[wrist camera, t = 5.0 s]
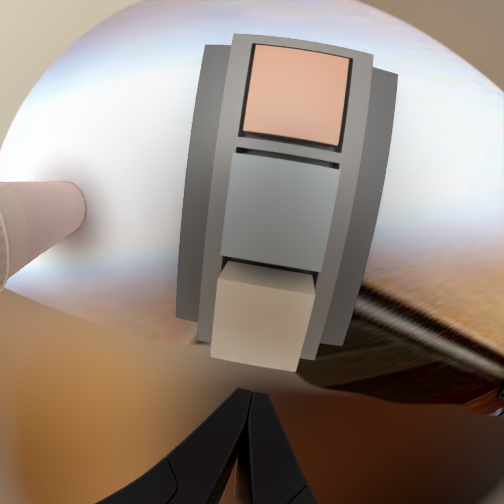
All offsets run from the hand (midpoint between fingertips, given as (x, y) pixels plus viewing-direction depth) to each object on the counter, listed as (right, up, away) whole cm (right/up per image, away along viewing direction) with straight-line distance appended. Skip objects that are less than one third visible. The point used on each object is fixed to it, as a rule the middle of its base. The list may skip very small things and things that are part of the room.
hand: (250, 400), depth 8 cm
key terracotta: (+2, +12, +7) cm, 14 cm away
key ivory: (+1, +1, +9) cm, 9 cm away
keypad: (+2, +7, +10) cm, 12 cm away
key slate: (+1, +6, +7) cm, 10 cm away
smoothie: (-13, +7, +12) cm, 19 cm away
